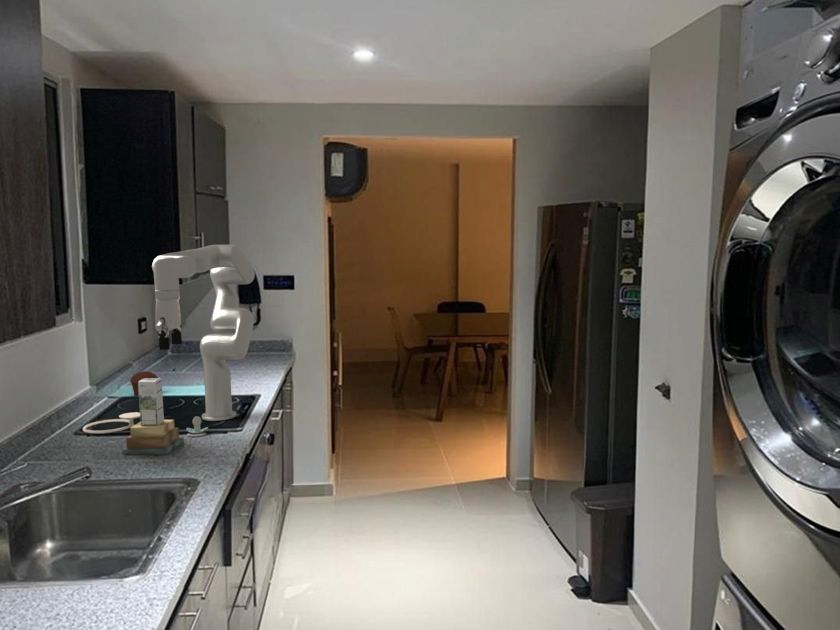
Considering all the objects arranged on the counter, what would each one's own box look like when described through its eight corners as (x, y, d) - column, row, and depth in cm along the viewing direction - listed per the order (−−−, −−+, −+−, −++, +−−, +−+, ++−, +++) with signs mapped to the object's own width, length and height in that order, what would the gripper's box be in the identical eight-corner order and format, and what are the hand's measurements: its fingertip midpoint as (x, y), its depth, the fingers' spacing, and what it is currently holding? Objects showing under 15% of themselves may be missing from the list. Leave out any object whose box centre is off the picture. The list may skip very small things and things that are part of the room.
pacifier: (206, 437, 240) (209, 432, 246) (205, 419, 239) (208, 414, 245) (184, 438, 240) (187, 433, 246) (182, 420, 239) (186, 415, 245)
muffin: (164, 392, 312) (162, 369, 311) (152, 397, 301) (150, 374, 300) (138, 391, 313) (137, 369, 312) (125, 397, 302) (124, 374, 301)
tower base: (142, 441, 236) (141, 417, 235) (183, 441, 235) (182, 418, 234) (122, 454, 222) (121, 429, 221) (166, 454, 221) (164, 429, 220)
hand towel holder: (90, 411, 261) (148, 409, 264) (91, 423, 261) (149, 420, 264) (74, 423, 244) (137, 420, 247) (75, 435, 245) (137, 432, 248)
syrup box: (164, 421, 230) (162, 377, 229) (157, 425, 224) (155, 381, 223) (147, 421, 230) (144, 377, 229) (139, 426, 225) (137, 381, 223)
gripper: (167, 292, 240) (170, 342, 242) (144, 298, 223) (148, 351, 225) (189, 292, 239) (192, 342, 242) (167, 298, 222) (171, 351, 224)
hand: (171, 346), depth 233 cm, fingers open, 9 cm apart
